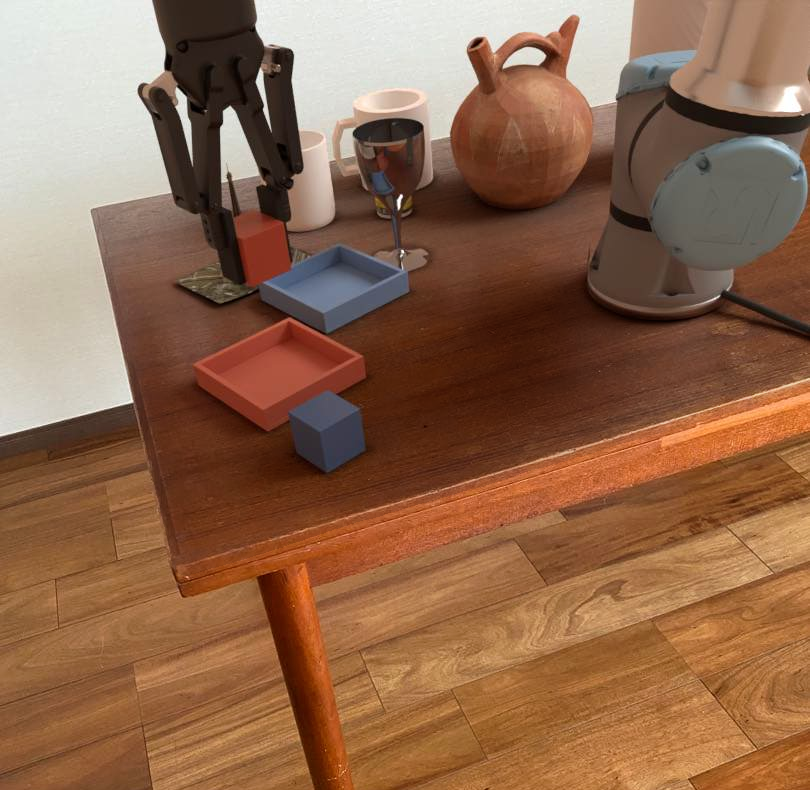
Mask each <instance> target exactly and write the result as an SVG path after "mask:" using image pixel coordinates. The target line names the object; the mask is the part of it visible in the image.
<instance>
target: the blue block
mask: <svg viewBox="0 0 810 790" xmlns="http://www.w3.org/2000/svg"><path fill="white" fill-rule="evenodd" d="M360 409H361V408H360V407H358V406H356V405H354V404H353V403H351V402H349V401H347V400H346V399H344V398H342V397H340V396H339V395H337V394H336V395H335V394H334V393H332V392H330V391H329V390H327V391H325V392H323V393H321V394H320V395H318V396H316V397H314V398H312V399H310V400H309V401H307V402H305V403H303V404H301V405H299V406H298V407H296V408H294V409H292V410H290V411H288V415H289V419H290V420H289V425H290V429H291V433H292V438H293V443H294V447H295V452H296V454H298V455H299V456H301V458H303V459H305V460H306V461H308V462H309V463H311V464H313V466H315V467H317V468H318V469H320V470H321V471H323V473H325V474H328V473H331V472H332V471H333V470H335V469H336V468H338V467H340V466H342V465H344V464H345V463H347V462H348V461H350V460H351V459H354V458H355V457H357V456H359V455H360V454H361V453H363V452H365V451H366V449H367V448H366V443H365V436H364V428H363V422H362V415H361V410H360Z"/></svg>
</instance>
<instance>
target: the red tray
mask: <svg viewBox="0 0 810 790" xmlns="http://www.w3.org/2000/svg"><path fill="white" fill-rule="evenodd" d="M365 366H366V365H365V359H364V355H362V354H360V353H358V352H356V351H355V350H353V349H351V348H349V347H347V346H345V345H343V344H342V343H339V342H337V341H336V340H333V339H332V338H330V337H328V336H327V335H324V334H322V333H320V331H317V330H315V329H313V328H311V327H309V326H307V325H305V324H303V323H301V321H298V320H297V319H293V317H287V318H284V319H283V320H281V321H279V322H277V323H274V324H273V325H270V326H269V327H268V326H267V327H266V328H264V329H262V330H260V331H258V332H255V333H254V334H252V335H250V336H248V337H246V338H244V339H242V340H240V341H238V342H236V343H234V344H231V345H230V346H227V347H226V348H223V349H221V350H219V351H217V352H214V353H213V354H211V355H209V356H207V357H205V358H202V359H200V360H199V361H197V362H195V363H193V364H192V367H193V371H194V374H195V377H196V381H197V384H198V385H197V386H199V387H201V389H203V390H205V391H206V392H208V393H209V394H210V395H212V396H214V397H215V398H217V399H218V400H219V401H221V402H222V403H224V404H226V405H227V406H228V407H230V408H231V409H233V410H234V411H236V412H237V413H239V414H240V415H242V416H243V417H245V418H246V419H248V420H249V421H251V422H252V423H253V424H255V425H257V426H258V427H260V429H263V430H264V431H266V432H268V433H269V432H270V431H272V430H274V429H276V428H278V427H279V426H281V425H283V424H284V423H287V422H289V421H290V419H289V415H288V411H290V410H292V409H294V408H296V407H298V406H299V405H301V404H303V403H305V402H307V401H309V400H310V399H312V398H314V397H316V396H318V395H320V394H321V393H323V392H325V391H327V390H329V391H330V392H332V393H334V394H335V395H337V394H340V393H341V392H343V391H345V390H347V389H348V388H351V386H353V385H355V384H358V383H359V382H361V381H363V380H364V379H365V380H366V378H367V374H366V367H365Z"/></svg>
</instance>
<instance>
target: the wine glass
mask: <svg viewBox="0 0 810 790" xmlns="http://www.w3.org/2000/svg"><path fill="white" fill-rule="evenodd" d="M351 136H352V144H353V145H352V146H353V153H354V158H355V162H356V164H357V166H358V170H359V173H360V174H359V176H360V178H361V182H362V181H363V183H364V185H365V187H366V188H367V189H368V190H369V193H370V194H371V195H373V196H374V198H375V197H376V198H377V199H378V200H379V201H380V202H381V203H382V204H383V205H384V206H385V207H386V209H387V210H388V212H389V214H390V217H391V219H390V221H391V224H392V230H393V236H394V246H392V247H388V248H385V249H382V250H379V251H378V252H376V253H375V254H374V255H372V257H374V258H376V259H379V260H381V261H384V262H386V263H388V264H391V265H393V266H395V267H398V268H400V269H403V270H405V271H407V272H412V271H415V270H418V269H420V268H422V267H423V266H425V265H427V263H428V262H429V260H430V254H429V253H428V252H427V251H426V250H424V249H423V248H421V247H418V246H413V245H403V243H402V218H401V214H402V210H403V207H404V205H405V203H406V202H407V200H408V199H409V197H410V196H411V197H412V194H413V193H414V192H415V191H416V190H415V189H416V188H417V186H418V184H419V183H420V181H421V178H422V174H423V168H424V159H425V136H424V126H423V124H422V123H421V122H419V121H416V120H413V119H407V118H388V119H380V120H375V121H371V122H368V123H365V124H362V125H360V126H358V127H357V128H356V127H355V128H354V129H353V131H352V135H351ZM368 190H367V191H368ZM414 190H415V191H414Z"/></svg>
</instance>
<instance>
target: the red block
mask: <svg viewBox="0 0 810 790" xmlns="http://www.w3.org/2000/svg"><path fill="white" fill-rule="evenodd" d="M233 221H234V225H235V230H236V235H237V241H238V246H239V250H240V255H241V260H242V264H243V269H244V274H245V278H246V283H244V284H246V285H248V286H250V287H254V286H256V285H258V284H261V283H263V282H265V281H267V280H270V279H272V278H274V277H276V276H279V275H281V274H283V273H285V272H287V271H290V270H291V263H290V257H289V251H288V245H287V240H286V234H285V228H284V223H283V222H282V221H280V220H277V219H275V218H273V217H271V216H268V215H266V214H264V213H262V212H261V211H260V210H257V209H252V210H250V211H247V212H245V213H242V215H239V216H237V217H234V216H233Z"/></svg>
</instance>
